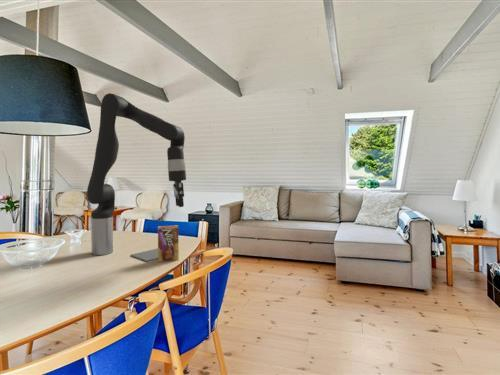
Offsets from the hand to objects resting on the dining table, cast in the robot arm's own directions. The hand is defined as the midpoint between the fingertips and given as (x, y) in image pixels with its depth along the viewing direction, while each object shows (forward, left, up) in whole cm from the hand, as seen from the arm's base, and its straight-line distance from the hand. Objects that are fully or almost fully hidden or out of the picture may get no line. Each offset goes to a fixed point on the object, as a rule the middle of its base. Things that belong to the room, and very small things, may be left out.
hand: (179, 206), depth 128 cm
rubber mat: (-15, -3, -24) cm, 29 cm away
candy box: (-4, -3, -25) cm, 25 cm away
